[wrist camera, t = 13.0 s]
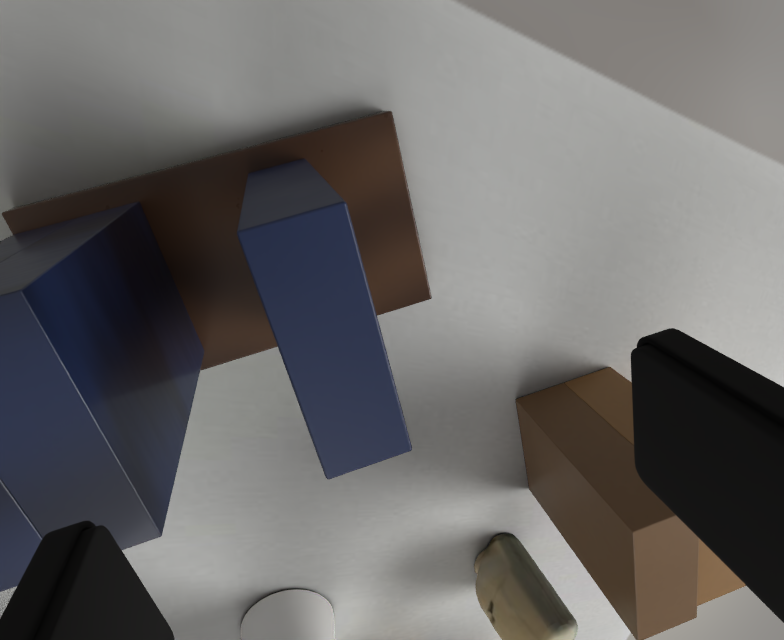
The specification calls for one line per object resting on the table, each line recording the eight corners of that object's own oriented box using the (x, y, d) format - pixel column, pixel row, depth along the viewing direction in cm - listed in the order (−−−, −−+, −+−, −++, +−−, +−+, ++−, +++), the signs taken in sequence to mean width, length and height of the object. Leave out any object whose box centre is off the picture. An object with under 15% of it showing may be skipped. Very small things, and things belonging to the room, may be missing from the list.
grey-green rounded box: (540, 566, 41) (600, 664, 34) (483, 600, 41) (531, 705, 34) (515, 521, 38) (574, 616, 31) (455, 557, 38) (500, 661, 31)
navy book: (247, 173, 24) (235, 231, 13) (305, 157, 25) (346, 200, 13) (298, 323, 28) (326, 481, 16) (348, 308, 28) (413, 450, 16)
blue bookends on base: (12, 208, 24) (-282, 323, 11) (386, 110, 26) (510, 110, 13) (110, 389, 28) (-18, 628, 15) (425, 292, 30) (549, 428, 17)
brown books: (515, 398, 34) (632, 532, 23) (609, 366, 35) (765, 480, 24) (529, 489, 38) (637, 642, 27) (615, 457, 38) (754, 593, 28)
